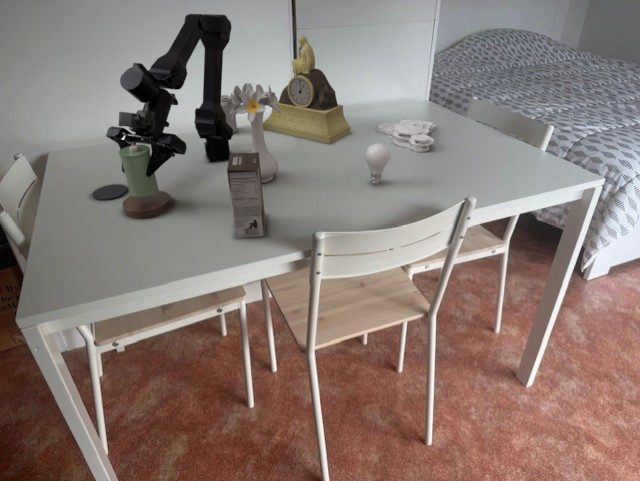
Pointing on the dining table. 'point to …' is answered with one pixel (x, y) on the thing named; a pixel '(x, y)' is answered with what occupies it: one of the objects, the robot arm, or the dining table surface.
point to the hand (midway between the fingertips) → (135, 174)
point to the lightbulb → (377, 160)
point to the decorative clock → (308, 103)
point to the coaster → (109, 192)
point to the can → (228, 112)
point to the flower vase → (256, 122)
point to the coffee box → (246, 194)
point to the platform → (147, 205)
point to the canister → (138, 170)
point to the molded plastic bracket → (410, 134)
